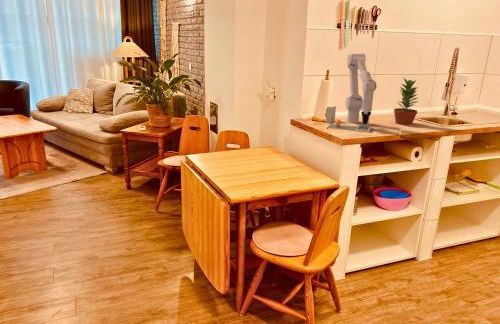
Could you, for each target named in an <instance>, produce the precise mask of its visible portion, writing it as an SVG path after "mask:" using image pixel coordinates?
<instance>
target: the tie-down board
mask: <svg viewBox="0 0 500 324" xmlns="http://www.w3.org/2000/svg"><path fill="white" fill-rule="evenodd" d="M356 128H357V126H356V125H346V124H344V125H343V124H340V127H336V123H334V124H333V123H329V125H328V126H327V127H326V130H328V129H335V130H345V131H352V132H353V131H354V132H357V131H356ZM359 129H366V130H368V128H359ZM375 129H376V128H373V127H372V128H371V130H370V132H369V133H374V132H375ZM359 132H360V133H361V131H359Z"/></svg>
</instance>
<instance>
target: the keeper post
mask: <svg viewBox="0 0 500 324" xmlns="http://www.w3.org/2000/svg"><path fill="white" fill-rule="evenodd" d="M335 124H336V127H340V125H341V119H340V118H337V119H336V118H335Z"/></svg>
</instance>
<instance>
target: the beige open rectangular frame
mask: <svg viewBox="0 0 500 324" xmlns="http://www.w3.org/2000/svg"><path fill="white" fill-rule="evenodd" d="M369 123H370V118H369V119H368V122H367V124H363V118H361V124H358V125H357V126H356V127H357V128H356V131H355V132H360V131H361V132H363V133H370V130H371V128H373V126H372V125H370V124H369ZM359 128H368V130H366V129H359ZM361 132H360V133H361Z"/></svg>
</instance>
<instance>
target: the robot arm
mask: <svg viewBox="0 0 500 324" xmlns="http://www.w3.org/2000/svg"><path fill="white" fill-rule="evenodd" d="M366 58H367V57H366V54H365V53H349V54H348V55H347V61H346V63H347V64H346V65H347V68H348V69H349V88H350V91H349V92H350V94H349V95H348V96H347V97H346V99H345V108H346V109H347V119H346V123H349V124H358V123H360V121H359V119H360V118H359V117H360V113H361V117H362V118H363V124H367V122H368V119H369V120H370V117H371V115H372V111H373V101H374V95H375V94H374V92H375V91H376V90H377V81H375V80H374V79H373V78H372V76H371V72H370V71H368V70H367V66H366ZM358 70H359V72H360V75H358V74H359V73H358ZM359 77H360V79H361V81H362V87H361V88H362V95H363V97H362V95H360V94H359ZM360 111H361V112H360ZM362 118H361V119H362Z"/></svg>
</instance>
